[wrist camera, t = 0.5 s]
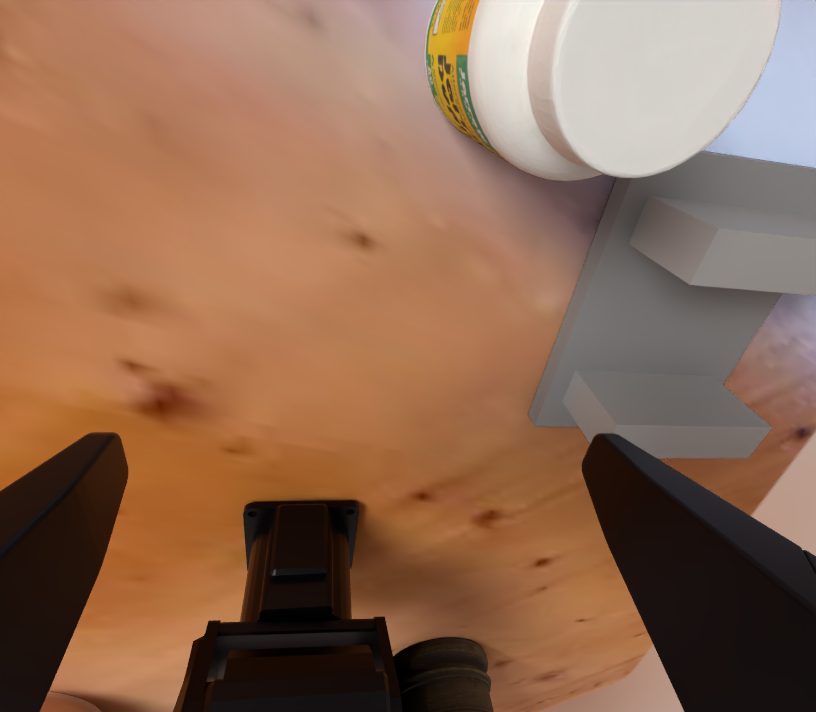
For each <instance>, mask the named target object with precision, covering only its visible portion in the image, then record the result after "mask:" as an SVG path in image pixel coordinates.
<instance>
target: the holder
mask: <svg viewBox="0 0 816 712" xmlns="http://www.w3.org/2000/svg"><path fill="white" fill-rule="evenodd" d="M782 293H790V294H802V295H814V296H816V168H811V167H805V166H798V165H792V164H785V163H779V162H772V161H766V160H759V159H752V158H746V157H739V156H733V155H726V154H720V153H713V152H707V151H700V152H699V153H697V154H696V155H695V156H693V157H692V158H690V159H688V160H687V161H685V162H684V163H682V164H680V165H678V166H676V167H674V168H672V169H670V170H667V171H665V172H662V173H659V174H656V175H652V176H647V177H641V178H618V177H617V178H616V180H615V183H614V186H613V188H612V191H611V194H610V196H609V199H608V202H607V204H606V207H605V210H604V212H603V215H602V218H601V220H600V223H599V226H598V228H597V231H596V234H595V236H594V239H593V242H592V244H591V247H590V250H589V252H588V255H587V258H586V260H585V263H584V266H583V268H582V271H581V274H580V276H579V279H578V282H577V285H576V287H575V290H574V293H573V295H572V298H571V301H570V303H569V306H568V309H567V311H566V314H565V317H564V319H563V322H562V325H561V327H560V330H559V333H558V335H557V338H556V341H555V343H554V346H553V349H552V351H551V354H550V357H549V359H548V362H547V365H546V367H545V370H544V373H543V375H542V378H541V381H540V383H539V386H538V389H537V391H536V394H535V397H534V399H533V402H532V405H531V407H530V410H529V413H528V415H529V417H530V419H531V421H532V423H533V424H534V426H536V427H579V428H580V429H581V431H582V433H583V434H584V436H585V437H586V439H587V440H588V442H589V443H591V441H592V439H593V437H594V436H595V435H596V434H599V433H615V434H618V435H620V436H621V437H623V438H625V439H626V440H628V441H629V442H631V443H633V444H634V445H636V446H638V447H639V448H641V449H642V450H644V451H646V452H647V453H649V454H651V455H652V456H654V457H655V458H749V457H750V456H751V454H752V453H753V452H754V450H755V449H756V448H757V447H758V445H759V444H760V443H761V441H762V440H763V439H764V437H765V436H766V435H767V434H768V432H769V431H770V430H771V428H772V427H771V426H770V425H769V424H768V423H767V422H765V421H764V420H763V419H762V418H761V417H760V416H758V415H757V414H756V413H755V412H754V411H753V410H752V409H750V408H749V407H748V406H747V405H746V404H745V403H743V402H742V401H741V400H740V399H739V398H738V397H736V396H735V395H734V394H733V393H732V392H731V391H730V390H728V389H727V388H726V387H725V386H724V385H723V384H724V382H725V381H726V379H727V378H728V376H729V375H730V373H731V372H732V370H733V369H734V367H735V365H736V364H737V362H738V361H739V359H740V358H741V356H742V355H743V353H744V351H745V350H746V348H747V347H748V345H749V344H750V342H751V341H752V339H753V338H754V336H755V334H756V333H757V331H758V330H759V328H760V327H761V325H762V324H763V322H764V321H765V319H766V317H767V316H768V314H769V313H770V311H771V310H772V308H773V307H774V305H775V303H776V302H777V300H778V299H779V297H780V296H781V294H782Z"/></svg>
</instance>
